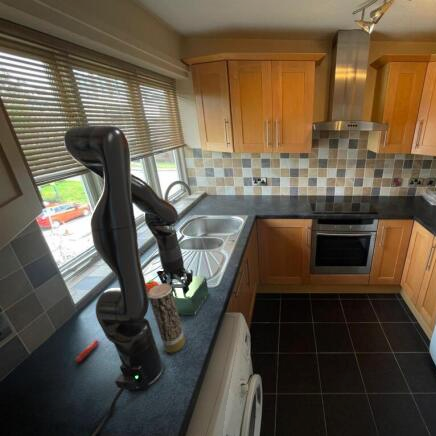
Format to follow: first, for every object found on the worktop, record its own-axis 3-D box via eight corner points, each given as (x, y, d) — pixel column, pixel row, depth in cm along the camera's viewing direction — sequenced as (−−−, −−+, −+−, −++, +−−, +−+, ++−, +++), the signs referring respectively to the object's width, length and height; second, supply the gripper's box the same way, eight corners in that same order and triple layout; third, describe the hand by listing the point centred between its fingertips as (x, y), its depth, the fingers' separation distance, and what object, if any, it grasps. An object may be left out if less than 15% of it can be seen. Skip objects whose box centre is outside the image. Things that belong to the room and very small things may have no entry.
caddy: (194, 315, 99) (191, 299, 96) (171, 313, 100) (166, 297, 97) (208, 293, 111) (206, 278, 108) (187, 292, 112) (184, 276, 109)
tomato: (147, 289, 114) (143, 277, 112) (163, 287, 116) (159, 275, 113) (142, 300, 107) (138, 288, 104) (158, 298, 109) (155, 285, 106)
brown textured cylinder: (179, 334, 90) (165, 280, 81) (188, 344, 86) (175, 289, 77) (161, 346, 86) (144, 291, 76) (170, 357, 82) (153, 300, 72)
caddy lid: (190, 300, 95) (187, 288, 92) (165, 298, 96) (162, 286, 93) (206, 278, 108) (204, 266, 106) (184, 276, 109) (181, 265, 107)
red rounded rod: (80, 363, 80) (78, 359, 79) (75, 363, 80) (73, 359, 79) (100, 343, 87) (98, 339, 86) (95, 342, 87) (93, 338, 86)
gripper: (146, 260, 87) (157, 296, 94) (183, 262, 86) (191, 299, 92) (159, 250, 94) (168, 284, 101) (193, 252, 92) (200, 287, 99)
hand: (179, 291), depth 96 cm, fingers open, 5 cm apart
